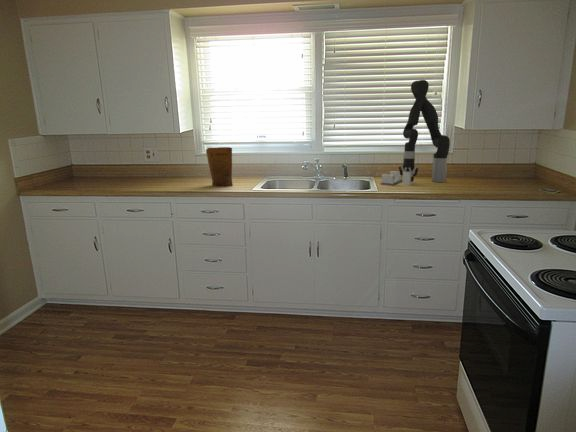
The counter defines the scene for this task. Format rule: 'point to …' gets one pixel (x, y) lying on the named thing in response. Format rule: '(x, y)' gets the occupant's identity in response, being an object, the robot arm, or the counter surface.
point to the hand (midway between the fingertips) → (407, 181)
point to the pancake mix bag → (220, 165)
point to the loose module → (407, 178)
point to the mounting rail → (391, 178)
